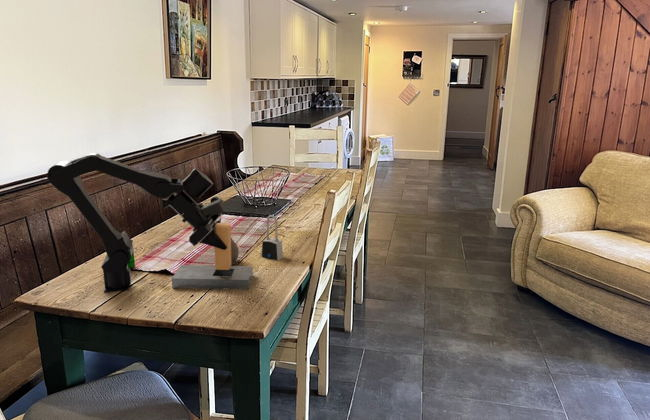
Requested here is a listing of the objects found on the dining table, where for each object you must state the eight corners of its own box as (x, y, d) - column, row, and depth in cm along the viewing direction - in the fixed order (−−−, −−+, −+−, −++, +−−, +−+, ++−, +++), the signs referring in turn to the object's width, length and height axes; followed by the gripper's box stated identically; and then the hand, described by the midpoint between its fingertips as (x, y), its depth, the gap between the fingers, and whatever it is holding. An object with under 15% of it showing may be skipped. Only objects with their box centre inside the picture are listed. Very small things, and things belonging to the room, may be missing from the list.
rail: (172, 287, 139) (171, 278, 138) (181, 273, 149) (181, 264, 148) (248, 289, 139) (248, 279, 139) (252, 275, 149) (252, 266, 148)
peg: (215, 269, 140) (214, 227, 137) (218, 264, 144) (216, 223, 141) (228, 269, 140) (228, 227, 137) (231, 264, 144) (230, 223, 141)
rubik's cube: (135, 266, 153) (133, 249, 152) (119, 272, 149) (117, 255, 147) (124, 262, 156) (122, 245, 155) (108, 267, 152) (106, 250, 150)
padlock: (283, 256, 165) (283, 215, 160) (277, 261, 161) (277, 218, 157) (267, 253, 167) (266, 212, 163) (260, 257, 164) (260, 215, 159)
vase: (218, 267, 155) (217, 241, 152) (216, 259, 161) (216, 234, 158) (239, 265, 156) (239, 240, 154) (237, 257, 163) (237, 233, 160)
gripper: (199, 198, 127) (241, 239, 130) (214, 183, 145) (251, 218, 148) (171, 226, 129) (213, 265, 132) (189, 207, 147) (226, 242, 150)
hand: (227, 246), depth 141 cm, fingers closed on peg, 4 cm apart
